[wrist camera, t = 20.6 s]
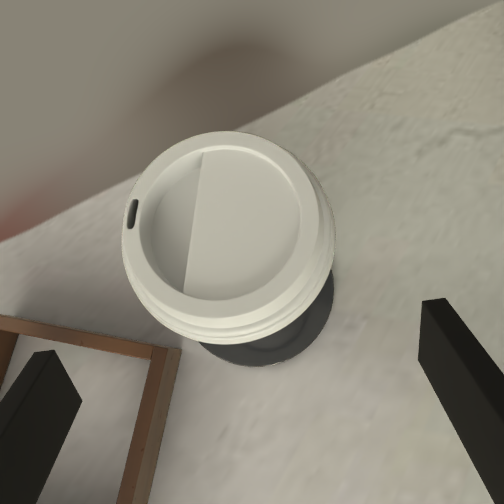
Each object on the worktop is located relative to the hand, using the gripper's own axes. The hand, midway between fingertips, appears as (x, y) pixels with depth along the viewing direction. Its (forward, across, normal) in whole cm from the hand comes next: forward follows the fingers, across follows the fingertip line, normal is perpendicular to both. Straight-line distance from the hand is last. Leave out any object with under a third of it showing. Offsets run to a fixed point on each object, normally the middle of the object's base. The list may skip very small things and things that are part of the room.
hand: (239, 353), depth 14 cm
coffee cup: (+14, 0, -7) cm, 16 cm away
